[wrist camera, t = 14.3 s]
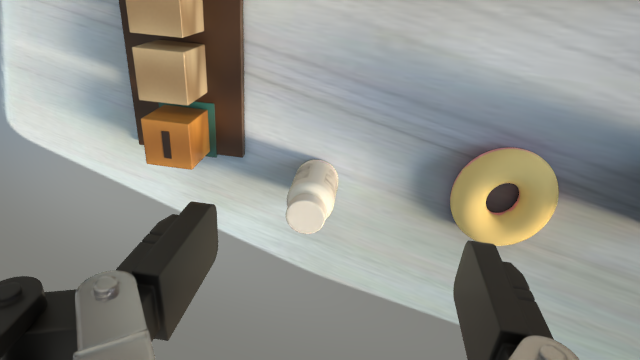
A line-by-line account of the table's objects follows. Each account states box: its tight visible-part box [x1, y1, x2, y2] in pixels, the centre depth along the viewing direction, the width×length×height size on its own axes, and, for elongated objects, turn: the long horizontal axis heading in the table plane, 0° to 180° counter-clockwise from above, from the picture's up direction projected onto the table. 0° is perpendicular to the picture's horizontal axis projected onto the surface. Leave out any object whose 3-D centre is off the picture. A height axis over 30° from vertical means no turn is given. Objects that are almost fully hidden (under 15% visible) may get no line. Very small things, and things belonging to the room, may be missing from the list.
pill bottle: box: [286, 160, 338, 234], centre depth 38 cm, size 4×4×8 cm
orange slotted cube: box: [141, 105, 210, 170], centre depth 38 cm, size 4×4×4 cm
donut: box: [450, 147, 559, 246], centre depth 38 cm, size 10×5×9 cm
